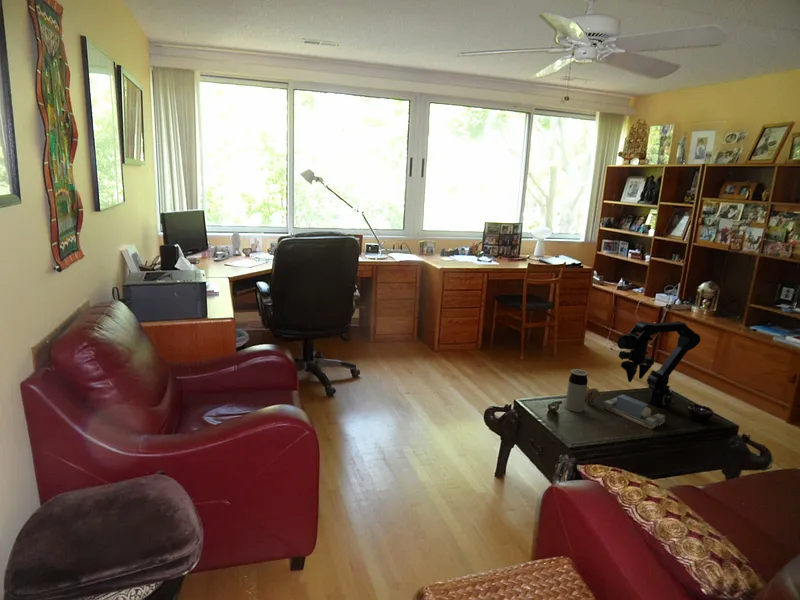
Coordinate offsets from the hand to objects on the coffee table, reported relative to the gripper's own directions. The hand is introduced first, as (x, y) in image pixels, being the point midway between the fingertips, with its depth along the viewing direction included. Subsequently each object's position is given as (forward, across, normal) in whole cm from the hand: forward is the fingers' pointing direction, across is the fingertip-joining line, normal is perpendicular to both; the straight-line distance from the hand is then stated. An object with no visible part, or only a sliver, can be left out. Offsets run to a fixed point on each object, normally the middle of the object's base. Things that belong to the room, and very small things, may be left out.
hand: (634, 380), depth 239 cm
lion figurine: (+12, +17, -12) cm, 24 cm away
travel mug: (+12, +30, -10) cm, 34 cm away
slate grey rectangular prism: (+11, +12, +6) cm, 17 cm away
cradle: (+12, +12, +8) cm, 19 cm away
